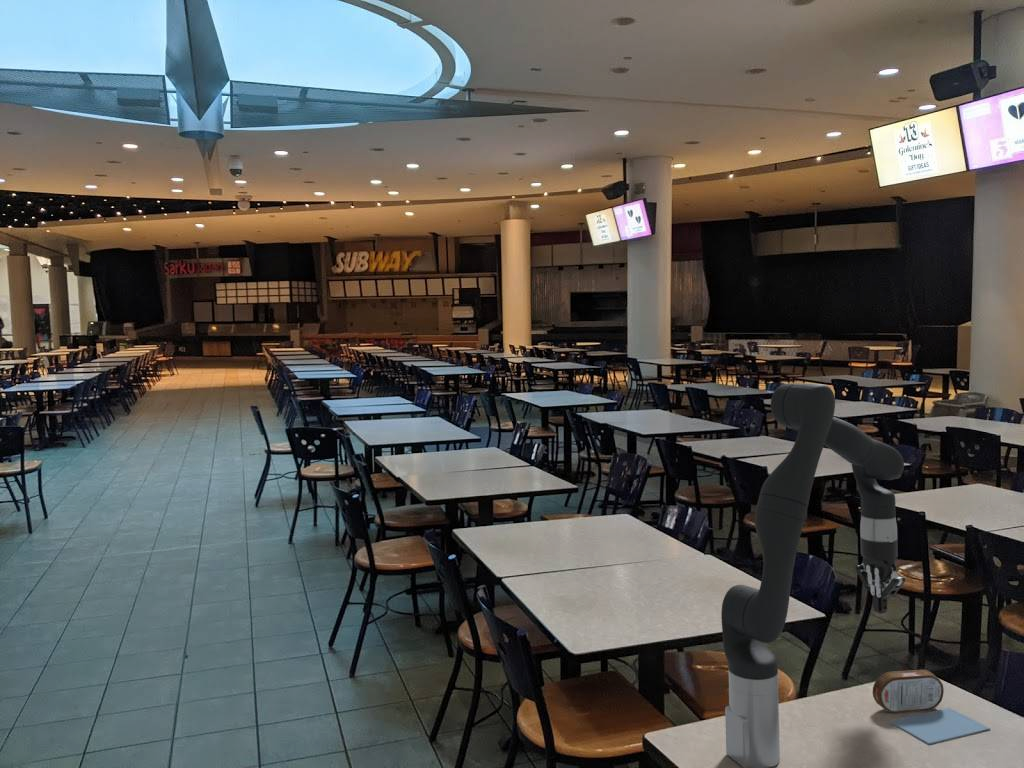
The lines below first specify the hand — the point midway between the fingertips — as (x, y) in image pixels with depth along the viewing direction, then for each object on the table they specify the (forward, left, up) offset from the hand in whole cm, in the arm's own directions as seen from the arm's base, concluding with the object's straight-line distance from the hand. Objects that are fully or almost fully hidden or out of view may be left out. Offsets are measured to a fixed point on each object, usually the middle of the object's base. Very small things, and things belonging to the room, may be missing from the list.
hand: (880, 612), depth 178 cm
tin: (0, -8, -19) cm, 21 cm away
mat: (0, -16, -19) cm, 25 cm away
